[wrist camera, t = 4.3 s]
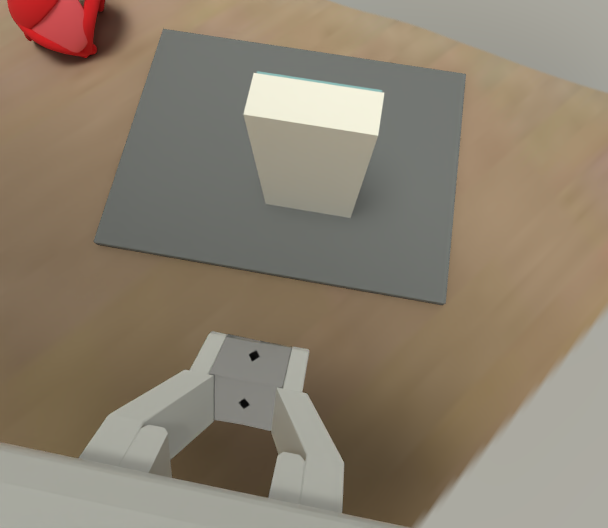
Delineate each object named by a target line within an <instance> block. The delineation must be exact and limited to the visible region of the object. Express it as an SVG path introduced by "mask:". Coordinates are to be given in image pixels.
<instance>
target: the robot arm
mask: <svg viewBox="0 0 608 528" xmlns="http://www.w3.org/2000/svg"><path fill="white" fill-rule="evenodd" d="M308 356H309V349H304V348H299V347H292V346H287V345H281V344H275V343H270V342H264V341H258V340H253V339H249V338H244V337H239V336H234V335H230V334H223V333H219V332H214V331H212V332H210V333H209V334H208V336H207V338H206V340H205V342H204V344H203V346H202V348H201V349H200V351H199V353H198V355H197V357H196V359H195V361H194V363H193V365H192V366H191V368H190V370H183V371H181V372H180V373H178V374H176V375H175V376H173V377H171V378H170V379H168V380H166V381H164V382H163V383H161V384H159V385H158V386H156V387H154V388H153V389H151V390H149V391H148V392H146V393H144V394H143V395H141V396H139V397H137V398H136V399H134V400H132V401H131V402H129V403H127V404H126V405H124V406H122V407H121V408H119V409H117V410H115V411H114V412H112V413H110V414H109V415H108V416H107V417H106V419H105V420H104V422H103V423H102V425H101V426H100V428H99V429H98V431H97V432H96V433H95V435H94V436H93V438H92V439H91V441H90V442H89V444H88V445H87V447H86V448H85V449H84V451H83V452H82V454H81V455H80V457H79V458H75V457H70V456H65V455H60V454H55V453H51V452H46V451H41V450H36V449H31V448H27V447H22V446H17V445H12V444H8V443H3V442H0V528H411V527H406V526H401V525H396V524H392V523H387V522H382V521H377V520H372V519H368V518H363V517H358V516H353V515H348V514H344V513H342V505H343V481H344V462H343V460H342V458H341V456H340V454H339V452H338V450H337V448H336V446H335V445H334V443H333V441H332V439H331V437H330V435H329V433H328V431H327V430H326V428H325V426H324V424H323V422H322V420H321V418H320V416H319V415H318V413H317V411H316V409H315V407H314V405H313V403H312V401H311V399H310V398H309V396H308V394H307V393H303V386H304V380H305V374H306V368H307V362H308ZM214 420H218V421H224V422H230V423H236V424H242V425H246V426H251V427H255V428H260V429H264V430H268V431H271V433H272V436H273V440H274V443H275V446H276V449H277V452H278V457H277V461H276V466H275V470H274V475H273V479H272V484H271V488H270V493H269V497H268V498H267V497H262V496H257V495H252V494H247V493H242V492H238V491H233V490H228V489H223V488H218V487H214V486H209V485H204V484H199V483H194V482H190V481H185V480H180V479H175V478H172V472H171V461H170V460H171V459H172V458H173V457H174V456H175V455H177V454H178V453H179V452H180V451H181V450H182V449H183V448H184V447H186V446H187V445H188V444H189V443H190V442H191V441H192V440H193V439H195V438H196V437H197V436H198V435H199V434H200V433H201V432H202V431H204V430H205V429H206V428H207V427H208V426H209V425H210V424H211V423H212V422H214Z"/></svg>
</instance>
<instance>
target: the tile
mask: <svg viewBox="0 0 608 528" xmlns="http://www.w3.org/2000/svg"><path fill="white" fill-rule="evenodd" d="M383 99H384V93H383V92H382V90H378V89H371V88H365V87H358V86H351V85H345V84H338V83H332V82H325V81H319V80H312V79H305V78H299V77H292V76H286V75H279V74H273V73H266V72H260V71H257V73H254V74H253V78H252V82H251V86H250V90H249V94H248V98H247V102H246V106H245V110H244V114H243V115H244V119H245V123H246V127H247V131H248V135H249V139H250V143H251V147H252V151H253V155H254V159H255V163H256V167H257V171H258V175H259V179H260V183H261V187H262V191H263V195H264V199H265V203H266V204H269V205H275V206H281V207H287V208H293V209H299V210H305V211H311V212H317V213H323V214H329V215H335V216H341V217H347V218H351V215H352V212H353V209H354V206H355V203H356V200H357V197H358V194H359V191H360V188H361V185H362V182H363V179H364V176H365V173H366V170H367V167H368V164H369V161H370V158H371V155H372V152H373V149H374V146H375V144H376V141H377V138H378V133H379V126H380V120H381V113H382V106H383Z"/></svg>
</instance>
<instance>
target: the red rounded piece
mask: <svg viewBox="0 0 608 528" xmlns="http://www.w3.org/2000/svg"><path fill="white" fill-rule="evenodd" d="M7 2H8V8H9V11H10V14H11V16H12V18H13V20H14V21H15V22H16V24H17V25H18V26H19V27H20V29H21V30H22V31H23V32H24V35H25V37H26V38H27V39H28V40H29V41H32V40H33V41H34V42H36V43H37V44H39V45H41V46H43V47H45V48H47V49H50V50H53V51H56V52H60V53H63V54H68V55H74V56H81V57H83V58H87V57H88V56H89V55H93V54H95V53H96V52H97V47H96V46H95V45H94V44H93V37H94V29H95V23H96V18H97V13H98V11H99V12H102V11H103V10H104V4H105V0H85V2H84V7H82V5H81V4H80V2H79V1H78V0H7Z"/></svg>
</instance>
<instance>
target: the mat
mask: <svg viewBox="0 0 608 528" xmlns="http://www.w3.org/2000/svg"><path fill="white" fill-rule="evenodd" d="M257 71H260V72H266V73H273V74H279V75H286V76H292V77H299V78H305V79H312V80H319V81H325V82H332V83H338V84H345V85H351V86H358V87H365V88H371V89H378V90H382V92H383V93H384V99H383V106H382V113H381V120H380V126H379V133H378V138H377V141H376V144H375V146H374V149H373V152H372V155H371V158H370V161H369V164H368V167H367V170H366V173H365V176H364V179H363V182H362V185H361V188H360V191H359V194H358V197H357V200H356V203H355V206H354V209H353V212H352V215H351V218H347V217H341V216H335V215H329V214H323V213H317V212H311V211H305V210H299V209H293V208H287V207H281V206H275V205H269V204H266V203H265V199H264V195H263V191H262V187H261V183H260V179H259V175H258V171H257V167H256V163H255V159H254V155H253V151H252V147H251V143H250V139H249V135H248V131H247V127H246V123H245V119H244V115H243V114H244V110H245V106H246V102H247V98H248V94H249V90H250V86H251V82H252V78H253V74H254V73H257ZM465 78H466V74H462V73H456V72H449V71H442V70H435V69H429V68H422V67H415V66H409V65H402V64H395V63H389V62H382V61H375V60H368V59H362V58H355V57H348V56H342V55H335V54H328V53H322V52H315V51H308V50H301V49H295V48H288V47H281V46H275V45H268V44H261V43H255V42H248V41H241V40H234V39H228V38H221V37H214V36H208V35H201V34H194V33H188V32H181V31H174V30H167V29H163V31H162V34H161V37H160V40H159V43H158V46H157V50H156V53H155V56H154V59H153V62H152V65H151V68H150V71H149V74H148V77H147V80H146V83H145V86H144V89H143V92H142V95H141V98H140V101H139V104H138V107H137V111H136V114H135V117H134V120H133V123H132V126H131V129H130V132H129V135H128V138H127V141H126V144H125V147H124V150H123V153H122V156H121V159H120V162H119V165H118V169H117V172H116V175H115V178H114V181H113V184H112V187H111V190H110V193H109V196H108V199H107V202H106V205H105V208H104V211H103V214H102V217H101V220H100V223H99V227H98V230H97V233H96V236H95V239H94V243H96V244H98V245H103V246H109V247H115V248H120V249H126V250H132V251H137V252H143V253H149V254H155V255H160V256H166V257H172V258H177V259H183V260H189V261H194V262H200V263H206V264H212V265H217V266H223V267H229V268H234V269H240V270H246V271H251V272H257V273H263V274H269V275H274V276H280V277H286V278H291V279H297V280H303V281H308V282H314V283H320V284H326V285H331V286H337V287H343V288H348V289H354V290H360V291H365V292H371V293H377V294H383V295H388V296H394V297H400V298H405V299H411V300H417V301H422V302H428V303H434V304H440V305H444V304H446V293H447V282H448V270H449V259H450V248H451V236H452V225H453V214H454V202H455V191H456V180H457V169H458V157H459V146H460V135H461V123H462V112H463V101H464V89H465Z"/></svg>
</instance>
